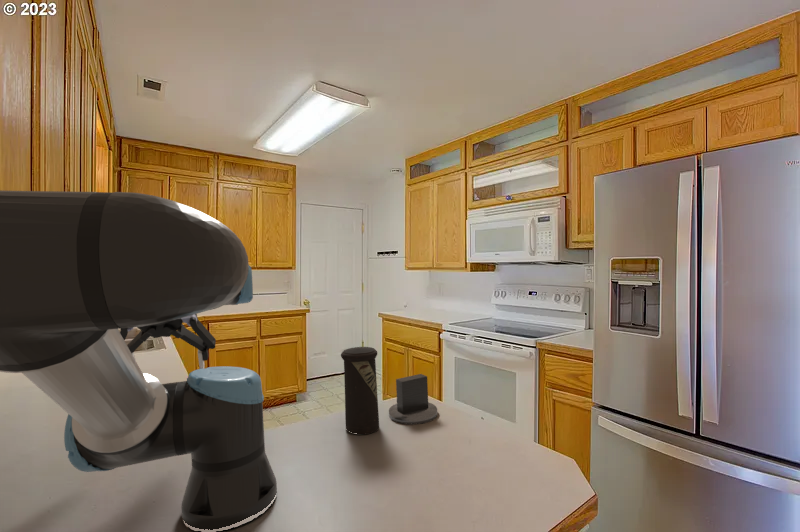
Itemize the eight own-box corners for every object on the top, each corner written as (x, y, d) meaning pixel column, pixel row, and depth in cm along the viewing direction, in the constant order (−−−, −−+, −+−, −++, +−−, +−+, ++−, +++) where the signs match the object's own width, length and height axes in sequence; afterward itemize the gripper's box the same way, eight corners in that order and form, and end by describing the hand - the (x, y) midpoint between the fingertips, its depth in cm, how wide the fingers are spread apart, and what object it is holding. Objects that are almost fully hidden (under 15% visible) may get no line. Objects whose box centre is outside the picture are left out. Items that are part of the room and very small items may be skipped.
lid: (447, 416, 102) (445, 379, 102) (405, 429, 96) (403, 388, 95) (420, 402, 113) (418, 368, 113) (380, 412, 107) (379, 376, 107)
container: (371, 437, 91) (368, 352, 91) (337, 433, 94) (334, 351, 94) (385, 423, 99) (382, 345, 99) (354, 419, 102) (351, 343, 102)
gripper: (223, 286, 87) (228, 355, 98) (87, 292, 78) (109, 368, 89) (222, 306, 81) (228, 377, 92) (75, 316, 72) (100, 394, 83)
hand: (169, 373), depth 90 cm, fingers open, 13 cm apart
